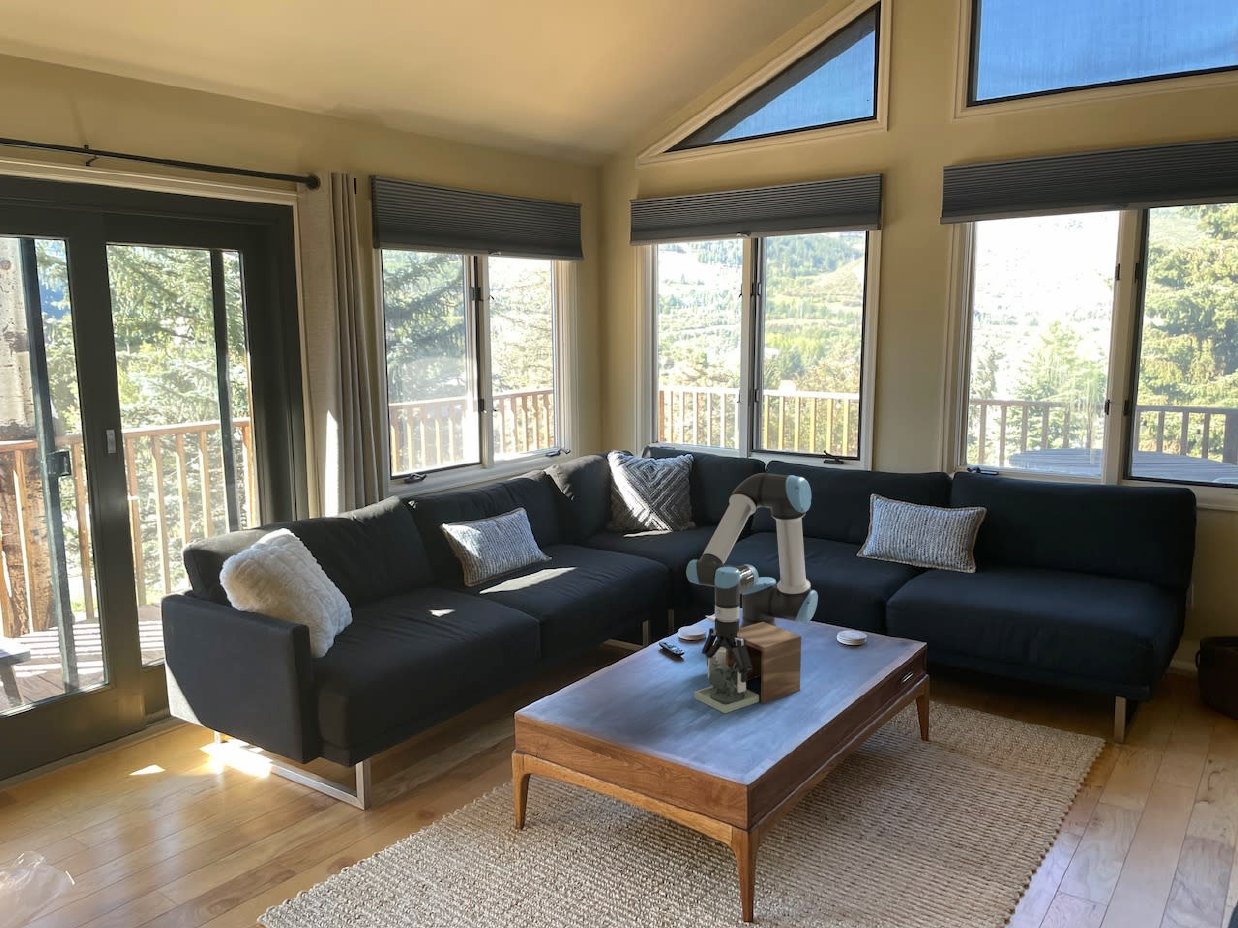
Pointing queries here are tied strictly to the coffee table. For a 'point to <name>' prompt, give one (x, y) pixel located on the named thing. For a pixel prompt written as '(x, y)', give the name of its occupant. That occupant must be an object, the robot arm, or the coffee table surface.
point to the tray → (725, 708)
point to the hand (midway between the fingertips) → (726, 684)
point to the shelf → (771, 659)
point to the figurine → (719, 679)
